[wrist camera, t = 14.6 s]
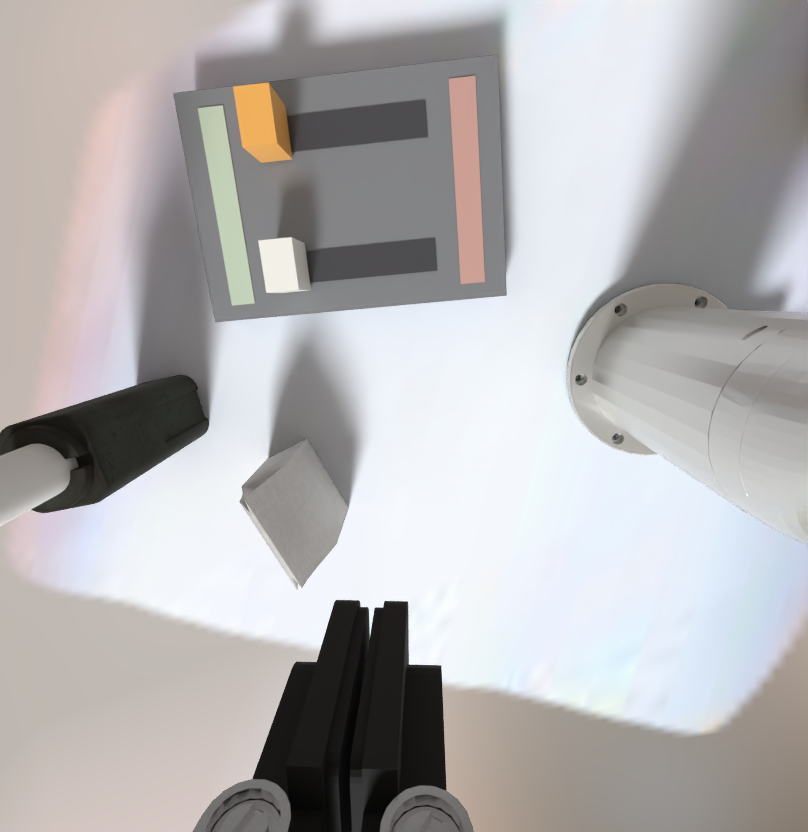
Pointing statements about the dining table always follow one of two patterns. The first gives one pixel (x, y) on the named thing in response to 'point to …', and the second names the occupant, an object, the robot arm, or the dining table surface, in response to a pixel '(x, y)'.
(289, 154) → the breaker handle
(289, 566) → the grey piece
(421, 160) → the breaker panel
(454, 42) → the dining table surface
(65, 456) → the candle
